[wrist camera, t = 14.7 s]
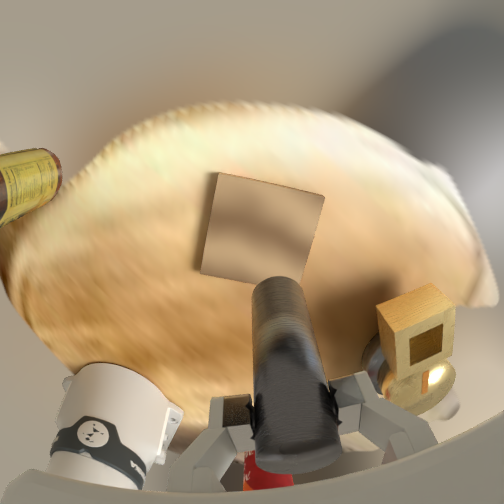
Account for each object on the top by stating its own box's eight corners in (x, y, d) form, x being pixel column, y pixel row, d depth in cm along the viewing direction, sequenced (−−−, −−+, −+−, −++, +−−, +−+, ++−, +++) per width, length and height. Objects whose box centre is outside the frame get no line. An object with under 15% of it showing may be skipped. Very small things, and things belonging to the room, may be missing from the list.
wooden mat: (295, 287, 33) (297, 291, 32) (201, 269, 32) (200, 273, 31) (322, 195, 29) (325, 197, 28) (219, 172, 28) (218, 173, 27)
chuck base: (410, 381, 39) (418, 394, 37) (349, 380, 38) (355, 395, 35) (445, 320, 36) (455, 332, 33) (382, 313, 34) (391, 326, 32)
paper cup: (230, 427, 41) (230, 507, 28) (279, 414, 40) (290, 497, 27) (250, 451, 44) (254, 522, 31) (295, 439, 43) (307, 513, 30)
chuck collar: (436, 375, 35) (452, 399, 30) (378, 400, 36) (390, 427, 31) (438, 279, 29) (463, 301, 25) (366, 308, 30) (385, 337, 25)
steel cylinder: (303, 316, 18) (336, 468, 9) (253, 320, 18) (258, 476, 10) (303, 273, 17) (348, 432, 8) (249, 278, 17) (251, 443, 8)
